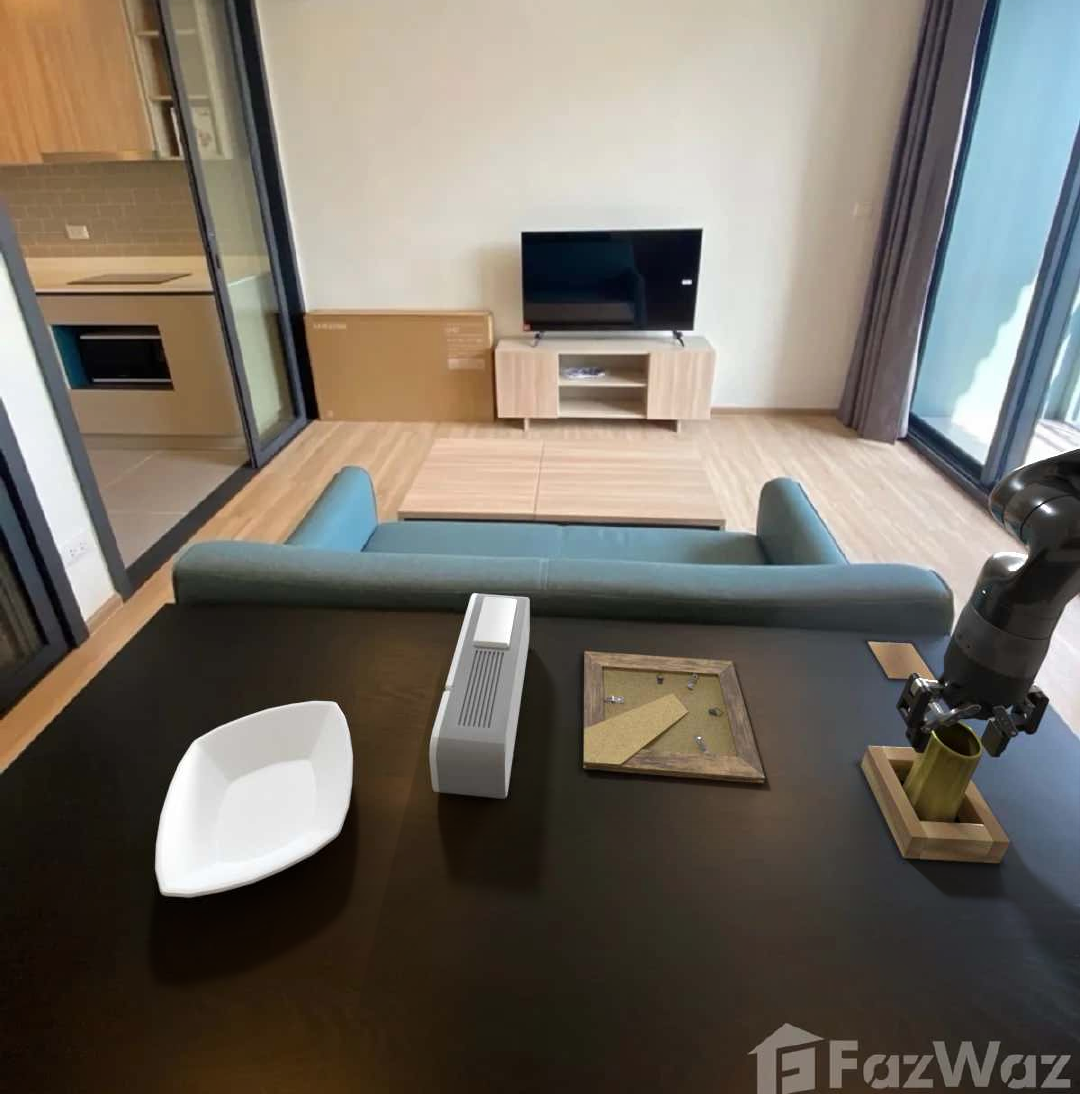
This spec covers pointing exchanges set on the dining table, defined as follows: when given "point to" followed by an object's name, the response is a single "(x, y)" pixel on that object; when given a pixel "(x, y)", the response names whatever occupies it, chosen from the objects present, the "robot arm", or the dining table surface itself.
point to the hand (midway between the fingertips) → (952, 747)
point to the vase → (943, 773)
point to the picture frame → (667, 718)
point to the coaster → (900, 660)
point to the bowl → (254, 799)
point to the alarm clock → (482, 699)
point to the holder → (931, 839)
